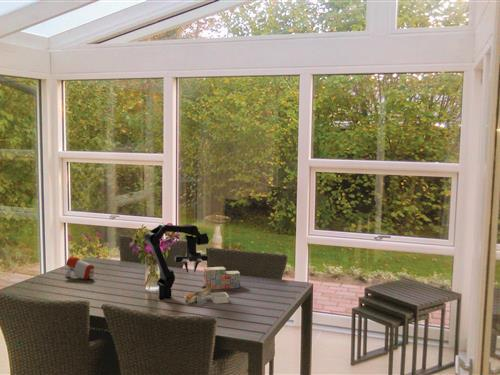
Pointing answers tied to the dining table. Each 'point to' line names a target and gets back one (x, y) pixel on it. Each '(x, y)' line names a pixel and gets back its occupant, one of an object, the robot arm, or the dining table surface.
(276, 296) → the dining table surface
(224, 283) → the stack of blocks
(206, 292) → the lever
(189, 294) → the ball
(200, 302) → the fulcrum
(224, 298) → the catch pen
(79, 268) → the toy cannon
